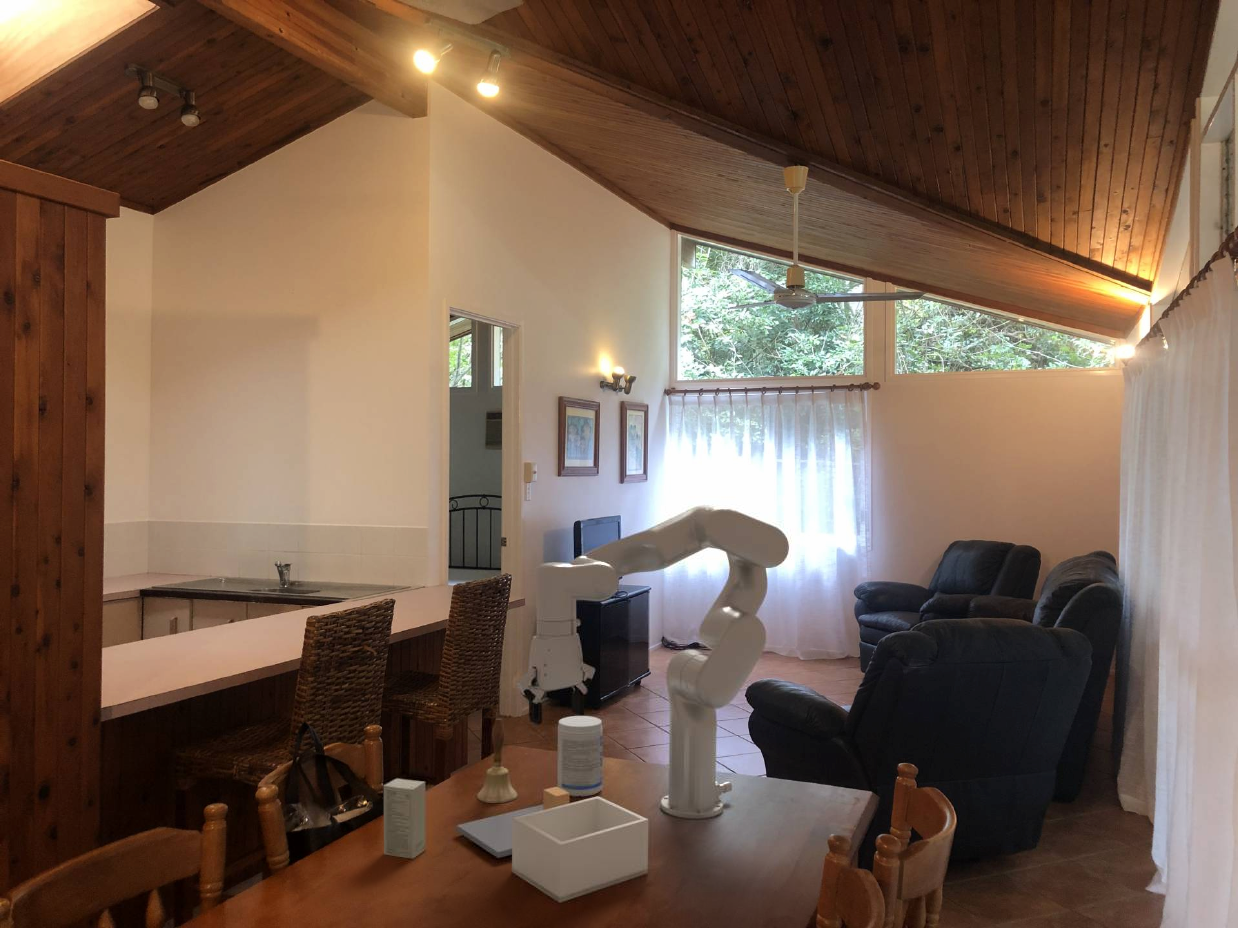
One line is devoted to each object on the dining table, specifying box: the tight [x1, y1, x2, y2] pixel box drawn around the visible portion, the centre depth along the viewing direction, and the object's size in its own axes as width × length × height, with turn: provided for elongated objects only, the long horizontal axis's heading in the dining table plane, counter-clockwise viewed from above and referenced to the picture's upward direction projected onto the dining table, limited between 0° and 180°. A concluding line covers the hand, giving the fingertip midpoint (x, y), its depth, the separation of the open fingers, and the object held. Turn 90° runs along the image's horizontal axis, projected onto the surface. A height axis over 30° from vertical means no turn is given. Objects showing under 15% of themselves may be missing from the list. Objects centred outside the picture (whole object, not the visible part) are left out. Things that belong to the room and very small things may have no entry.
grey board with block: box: [456, 786, 571, 859], centre depth 170 cm, size 19×15×7 cm
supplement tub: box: [557, 715, 604, 798], centre depth 195 cm, size 10×10×15 cm
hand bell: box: [476, 717, 518, 804], centre depth 191 cm, size 8×8×16 cm
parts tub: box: [511, 796, 649, 904], centre depth 154 cm, size 18×14×9 cm
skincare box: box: [383, 777, 427, 860], centre depth 162 cm, size 6×4×12 cm
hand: (557, 718), depth 174 cm, fingers open, 9 cm apart
